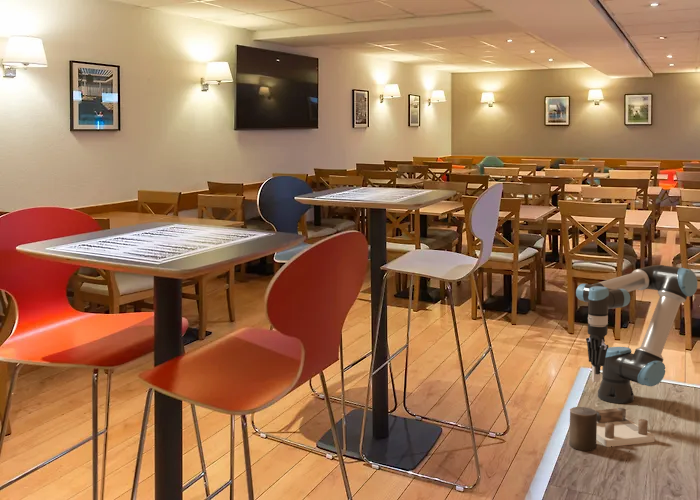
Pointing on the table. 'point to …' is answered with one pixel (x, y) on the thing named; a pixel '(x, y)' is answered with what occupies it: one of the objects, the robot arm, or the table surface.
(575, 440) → the pillar candle
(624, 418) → the folding leg
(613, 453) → the table surface
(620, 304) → the robot arm
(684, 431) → the table surface
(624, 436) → the stool seat
